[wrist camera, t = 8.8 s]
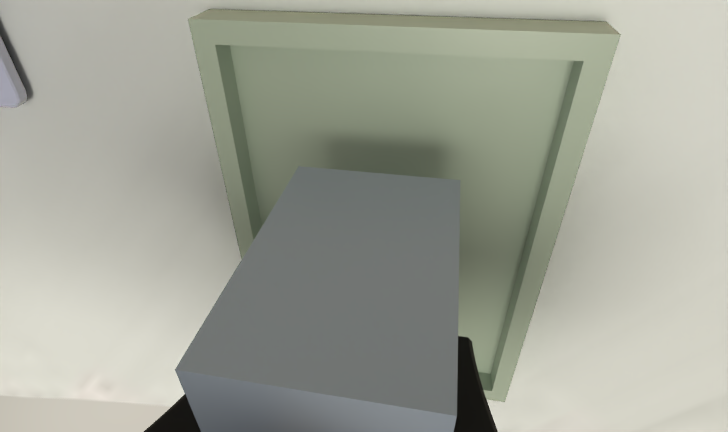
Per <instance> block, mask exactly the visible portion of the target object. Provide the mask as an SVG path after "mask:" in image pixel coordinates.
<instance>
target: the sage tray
mask: <svg viewBox="0 0 728 432" xmlns="http://www.w3.org/2000/svg"><path fill="white" fill-rule="evenodd" d="M188 21H189V26H190V30H191V35H192V39H193V44H194V48H195V53H196V57H197V62H198V66H199V71H200V75H201V80H202V84H203V89H204V93H205V97H206V102H207V106H208V111H209V115H210V120H211V124H212V129H213V133H214V138H215V142H216V147H217V151H218V156H219V160H220V165H221V169H222V174H223V178H224V183H225V187H226V192H227V196H228V201H229V205H230V209H231V214H232V218H233V223H234V227H235V232H236V236H237V241H238V245H239V250H240V254H241V259H243V257H244V255H245V254H246V252H247V250H248V249H249V247H250V245H251V244H252V242H253V240H254V239H255V237H256V236H257V234H258V232H259V231H260V229H261V227H262V226H263V224H264V222H265V221H266V219H267V217H268V216H269V214H270V212H271V211H272V209H273V207H274V206H275V204H276V203H277V201H278V199H279V198H280V196H281V194H282V193H283V191H284V189H285V188H286V186H287V184H288V183H289V181H290V179H291V178H292V176H293V175H294V173H295V171H296V170H297V168H298V166H302V167H314V168H325V169H337V170H348V171H360V172H371V173H383V174H394V175H406V176H418V177H429V178H441V179H452V180H460V239H459V308H458V336H462V337H468V338H469V339H470V340H471V341H472V345H473V351H474V356H475V361H476V365H477V369H478V373H479V377H480V380H481V384H482V387H483V390H484V394H485V397H486V399H488V400H494V401H501V402H505V400H506V396H507V393H508V390H509V387H510V384H511V381H512V377H513V374H514V371H515V368H516V365H517V361H518V358H519V355H520V352H521V349H522V346H523V342H524V339H525V336H526V333H527V330H528V327H529V323H530V320H531V317H532V314H533V311H534V308H535V304H536V301H537V298H538V295H539V292H540V289H541V285H542V282H543V279H544V276H545V273H546V270H547V266H548V263H549V260H550V257H551V254H552V251H553V247H554V244H555V241H556V238H557V235H558V232H559V228H560V225H561V222H562V219H563V216H564V213H565V209H566V206H567V203H568V200H569V197H570V194H571V190H572V187H573V184H574V181H575V178H576V175H577V171H578V168H579V165H580V162H581V159H582V156H583V152H584V149H585V146H586V143H587V140H588V137H589V133H590V130H591V127H592V124H593V121H594V117H595V114H596V111H597V108H598V105H599V102H600V98H601V95H602V92H603V89H604V86H605V83H606V79H607V76H608V73H609V70H610V67H611V64H612V60H613V57H614V54H615V51H616V48H617V45H618V41H619V38H620V35H621V34H619V33H618V32H617V31H616V30H615V29H614V28H613V27H612V26H611V25H609V24H608V23H607V22H595V21H564V20H533V19H502V18H471V17H440V16H409V15H378V14H347V13H316V12H285V11H255V10H224V9H209V10H206V11H204V12H202V13H200V14H198V15H196V16H193V17H191V18H189V19H188Z"/></svg>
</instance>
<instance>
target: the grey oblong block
mask: <svg viewBox="0 0 728 432" xmlns="http://www.w3.org/2000/svg"><path fill="white" fill-rule="evenodd" d="M459 239H460V180H452V179H441V178H429V177H418V176H406V175H394V174H383V173H371V172H360V171H348V170H337V169H325V168H314V167H302V166H298V168H297V170H296V171H295V173H294V175H293V176H292V178H291V179H290V181H289V183H288V184H287V186H286V188H285V189H284V191H283V193H282V194H281V196H280V198H279V199H278V201H277V203H276V204H275V206H274V207H273V209H272V211H271V212H270V214H269V216H268V217H267V219H266V221H265V222H264V224H263V226H262V227H261V229H260V231H259V232H258V234H257V236H256V237H255V239H254V240H253V242H252V244H251V245H250V247H249V249H248V250H247V252H246V254H245V255H244V257H243V259H242V260H241V262H240V264H239V265H238V267H237V268H236V270H235V272H234V273H233V275H232V277H231V278H230V280H229V282H228V283H227V285H226V287H225V288H224V290H223V292H222V293H221V295H220V296H219V298H218V300H217V301H216V303H215V305H214V306H213V308H212V310H211V311H210V313H209V315H208V316H207V318H206V320H205V321H204V323H203V325H202V326H201V328H200V329H199V331H198V333H197V334H196V336H195V338H194V339H193V341H192V343H191V344H190V346H189V348H188V349H187V351H186V353H185V354H184V356H183V357H182V359H181V361H180V362H179V364H178V366H177V367H176V369H175V371H176V373H177V376H178V378H179V380H180V383H181V385H182V387H183V390H184V392H185V395H186V397H187V399H188V402H189V404H190V407H191V409H192V411H193V414H194V416H195V418H196V421H197V423H198V426H199V428H200V430H201V432H454V428H455V423H456V418H457V376H458V308H459Z"/></svg>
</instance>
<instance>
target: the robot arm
mask: <svg viewBox="0 0 728 432" xmlns="http://www.w3.org/2000/svg"><path fill="white" fill-rule="evenodd" d="M26 101H27V94H26V90H25V88H24V86H23V84H22V82H21V79H20V77H19V75H18V73H17V71H16V69H15V66H14V64H13V62H12V60H11V58H10V56H9V54H8V51H7V49H6V47H5V45H4V43H3V41H2V38H1V36H0V107H9V108H13V107H18V106H20V105H22V104H24V103H25V102H26ZM144 432H201V430H200V428H199V426H198V423H197V421H196V418H195V416H194V414H193V411H192V409H191V407H190V404H189V402H188V399H187V397H186V395H184V396H182V397H181V398H180V399H179V400H178V401H177V402H176V403H175V404H174V405H173V406H172V407H171V408H170V409H169V410H168V411H167V412H166V413H165V414H163V415H162V416H161V417H160V418H159V419H158V420H157V421H155V422H154V423H153V424H152V425H151V426H150V427H149V428H147V429H146V430H145V431H144ZM454 432H497V429H496V426H495V423H494V420H493V417H492V415H491V412H490V409H489V406H488V403H487V400H486V397H485V394H484V390H483V387H482V384H481V380H480V377H479V373H478V369H477V365H476V361H475V356H474V351H473V345H472V341H471V340H470V339H469V338H468V337H462V336H458V376H457V418H456V423H455V428H454Z"/></svg>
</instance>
